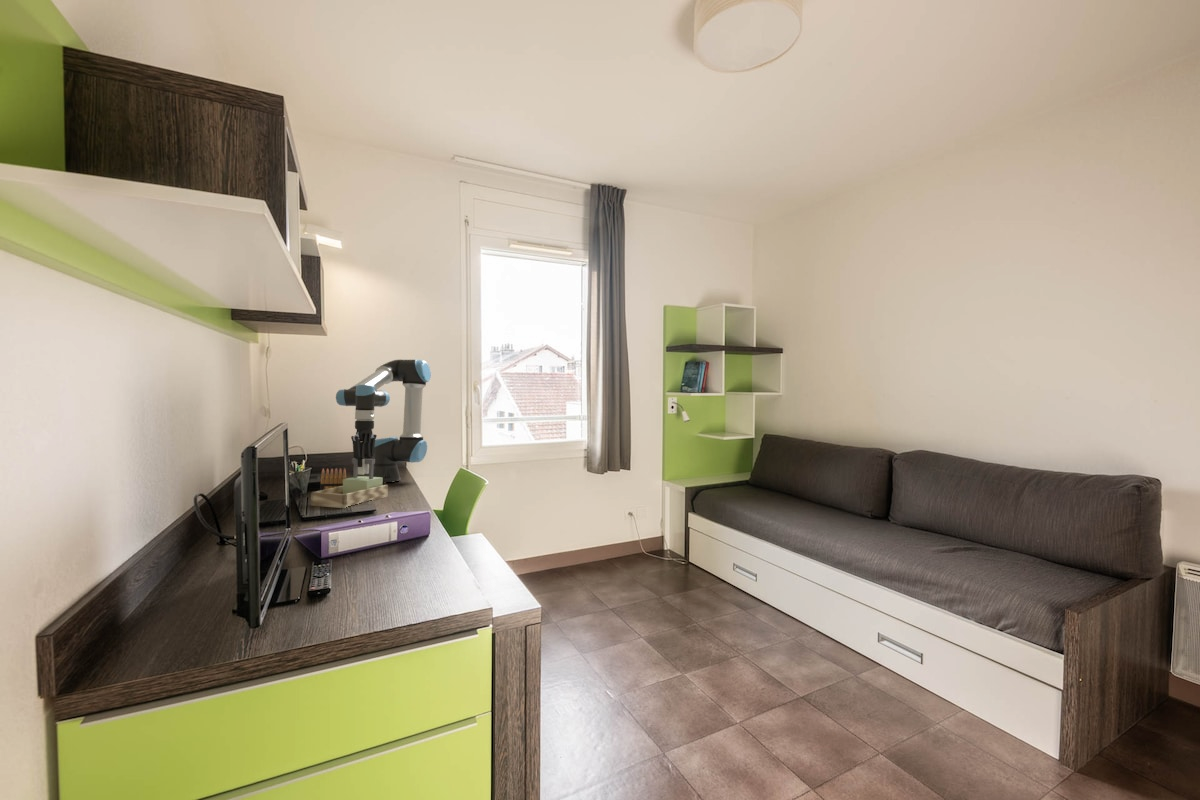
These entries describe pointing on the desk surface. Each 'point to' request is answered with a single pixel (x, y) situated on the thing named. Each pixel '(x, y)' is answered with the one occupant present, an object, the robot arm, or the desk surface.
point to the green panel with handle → (361, 479)
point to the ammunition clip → (332, 479)
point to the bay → (346, 496)
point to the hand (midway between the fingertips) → (363, 473)
